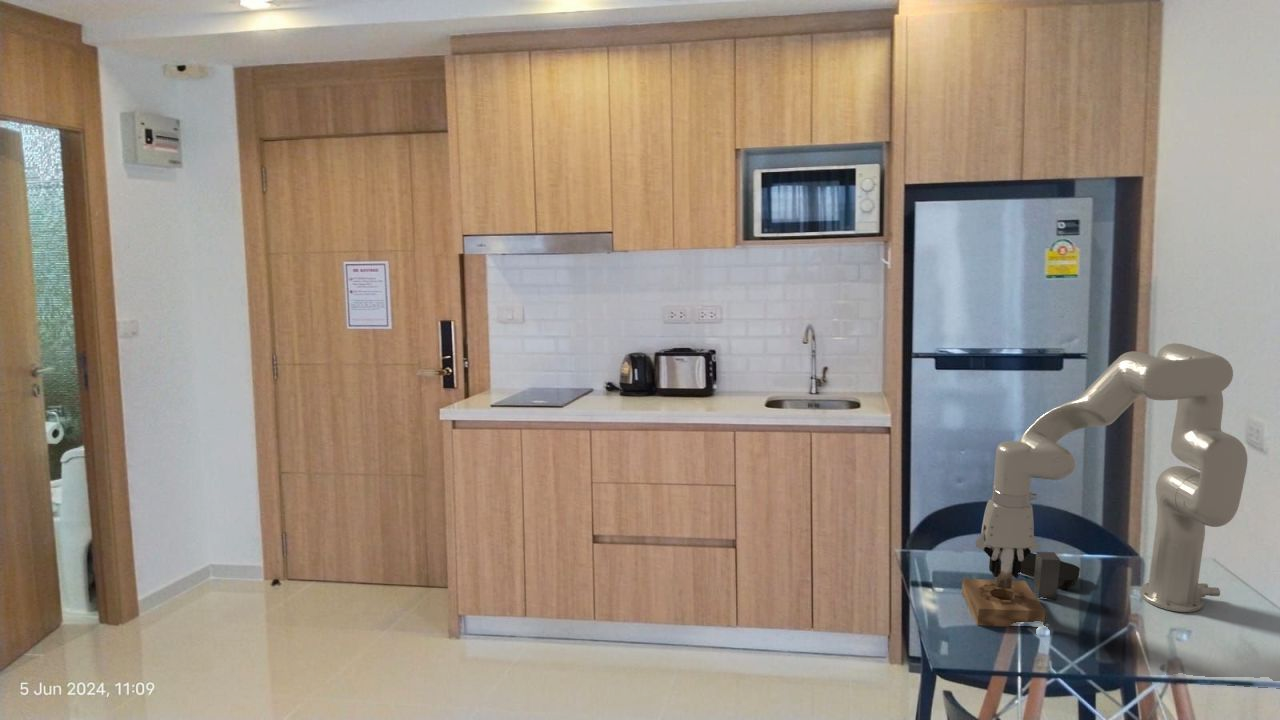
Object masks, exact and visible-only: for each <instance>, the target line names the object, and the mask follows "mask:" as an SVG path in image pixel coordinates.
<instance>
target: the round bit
mask: <svg viewBox="0 0 1280 720" xmlns="http://www.w3.org/2000/svg"><path fill="white" fill-rule="evenodd" d="M1014 559H1015V548H1000V549H999V553H998V560H999V572H998V577H994V580H995V586H997V587H999V588H1002V589H1010V588H1012V581H1013V580H1014V579H1013V578H1014V576H1013V570H1014Z"/></svg>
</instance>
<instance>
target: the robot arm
mask: <svg viewBox="0 0 1280 720" xmlns="http://www.w3.org/2000/svg"><path fill="white" fill-rule="evenodd" d="M1233 377H1234V369H1233V367H1232V364H1231V363H1230V362H1229V361H1228V360H1227V359H1226V358H1225V357H1223V356H1221V355H1219V354H1216V353H1212V352H1210V351H1206V350H1203V349H1200V348H1197V347H1194V346H1191V345H1187V344H1184V343H1175V342H1174V343H1169V344H1165V345H1163V346H1162V347H1161V348H1160V349H1159V350H1158V352H1157V355H1156V356H1154V355H1151V354H1147V353H1144V352H1141V351H1140V352H1139V351H1135V350H1134V351H1127V352H1124V353H1122V354H1120V356H1118V357H1117V359H1116V360H1114V361H1113V362H1112V363H1111V364H1110V365H1109V366H1107V368H1106V369H1105V370H1104V371H1103V372H1102V373H1101V374H1100V375H1099V377H1097V379H1096V380H1094V381H1093V382H1092V383H1091V384H1090V385H1089V386H1088V388H1087V389H1085V390H1084V391H1083V393H1081V394H1080V395H1079V396H1078V397H1075V398H1074V399H1073V400H1070V401H1067V402H1065V403H1063V404H1061V405H1059V406H1057V407H1054V408H1052V409H1050V410H1049V411H1047V412H1045V413H1044V414H1042V415H1041V416H1040V417H1038V418H1037V419H1036V420H1035V421H1034V422H1033V423H1032V424H1031V425H1030V426H1029V427H1028V428H1027V430H1026V431H1024V433H1023V434H1022V435H1021V436H1020V438H1019V439H1018V441H1016V440H1009V441H1008V440H1007V441H1002V442H1000V443H999V444H998V445H997V447H996V449H995V450H996V452H995V461H994V462H995V464H994V475H993V476H994V477H993V485H992V487H993V489H992V499H988V501H987V503H986V506H985V510H984V513H983V514H984V515H983V520H982V525H981V531H980V532H981V533H980V535H979V536H978V538H977V539H976V540H975V541H974V546H975V547H976V548H978V549H979V550H981V551H983V552H984V553H985V554H986V555H987V556H988V557H989V562H988V563H989V565H988V568H989V569H988V570H989V572H990V573H991V574H992V575H993V577H994V578H995V577H998V572H999V560H998V553H999V549H1000V548H1015V559H1014V570H1013V578H1016V579H1018V578H1019V575H1018V573H1020V570H1021V561H1023V560H1024V558H1025V557H1026V556H1027V555H1028V554H1030V552H1031V553H1033V552H1034V551H1037V550H1039V549H1040V545H1039V544H1038V542H1037V539H1035V536H1034V535H1035V534H1034V532H1035V531H1034V530H1035V527H1034V523H1035V522H1034V512H1033V511H1034V510H1033V505H1032V503H1031V501H1033V500H1037V498H1038V497H1037V493H1035V492H1031V488H1032V487H1031V486H1032V479H1033V478H1034V479H1043V480H1050V481H1051V480H1052V481H1053V480H1054V481H1057V480H1063V479H1066V478H1067V477H1068V476H1070V475H1071V474H1072V473H1073V472H1074V470H1075V467H1076V462H1075V458H1074V456H1073V454H1072V453H1071V452H1070V451H1069V450H1068V449H1067V448H1066V447H1064V446H1062V445H1060V444H1059V443H1058V442H1059V441H1060V440H1061V439H1062V438H1063V437H1065V436H1067V435H1069V434H1070V433H1072V432H1074V431H1077V430H1082V429H1086V428H1088V429H1089V428H1099V427H1105V426H1106V427H1107V426H1110V425H1112V424H1113V423H1114V422H1115V421H1116V420H1118V418H1119V417H1120V416H1121V415H1122V414H1123V413H1124V412H1125V411H1126V410H1127V409H1128V408H1129V407H1130V406H1131V405H1132V404H1133V403H1134V402H1136V400H1137V399H1138V398H1139V397H1141V396H1143V397H1145V398H1148V399H1150V400H1153V401H1176V400H1177V404H1176V413H1175V418H1174V419H1175V420H1174V423H1173V424H1174V425H1173V428H1172V429H1173V430H1172V431H1173V432H1172V437H1171V443H1170V450H1171V453H1172V454H1173V456H1174V457H1175V458H1176V459H1178V460H1179V461H1181V462H1182V463H1184V464H1186V465H1188V466H1190V467H1188V466H1182V465H1177V466H1176V465H1175V466H1170V467H1168V468H1166V469H1164V470H1163V471H1162V472H1161V473H1160V474H1159V476H1158V478H1157V481H1156V483H1155V484H1156V485H1155V497H1156V498H1155V499H1156V523H1155V524H1156V525H1155V533H1154V539H1153V540H1154V541H1153V546H1152V547H1153V548H1152V555H1151V563H1150V570H1149V571H1150V572H1149V576H1148V577H1149V579H1148V583H1143V584H1142V585H1141V587H1140V589H1139V595H1140V597H1142V599H1143V600H1145V601H1146V602H1147V603H1150V604H1151V605H1153V606H1155V607H1158V608H1161V609H1162V610H1163V609H1164V610H1165V611H1166V610H1168V611H1173V612H1177V613H1178V612H1179V613H1193V612H1198V611H1200V610H1201V609H1202V608H1203V607H1204V603H1205V602H1204V599H1203V598H1205V597H1206V596H1210V597H1219V596H1221V591H1220V590H1221V589H1220V588H1219V587H1216V586H1215V587H1209V584H1208V583H1207V582H1206V583H1203V582H1202V583H1199V578H1200V571H1201V564H1202V557H1203V551H1204V542H1205V537H1206V526H1208V527H1212V528H1218V527H1223V526H1225V525H1228V524H1229V523H1230V522H1231V521H1232V520H1233V519H1234V517H1235V515H1236V514H1237V512H1238V509H1239V506H1240V503H1241V498H1242V495H1243V494H1242V492H1243V490H1244V484H1245V478H1246V473H1247V470H1248V469H1247V468H1248V461H1249V460H1248V454H1247V453H1248V452H1247V450H1246V448H1245V445H1244V444H1243V442H1241V440H1240V439H1238V438H1237V437H1235V436H1234V435H1232V434H1229V433H1227V432H1224V431H1223V430H1222V417H1223V412H1224V411H1223V410H1224V396H1223V392H1224V390H1226V389H1227V388H1228V387H1229V386H1230V385H1231V383H1232V381H1233ZM1191 467H1192V468H1191ZM1193 468H1194V469H1193ZM1195 469H1196V470H1195ZM1197 470H1198V471H1197Z"/></svg>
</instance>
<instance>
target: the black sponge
mask: <svg viewBox="0 0 1280 720" xmlns="http://www.w3.org/2000/svg"><path fill="white" fill-rule="evenodd" d="M1035 562H1036V553H1033V552H1030V554H1028V555H1027V556H1026V557H1025V558H1024V560H1023V561H1021V570H1020V572H1021V573H1022V574H1025V575H1028V576H1031V577H1032V578H1034V572H1035ZM1080 570H1081V569H1080V567H1079V566H1078V565H1076V564H1073V563H1069V562H1066V561H1063V560H1060V569H1059V579H1058V588H1057V589H1059V590H1060V589H1061V590H1068V589H1069V588H1070V587H1072V585H1073V584H1074V583H1075V581H1077V580H1078V579H1079V576H1080Z"/></svg>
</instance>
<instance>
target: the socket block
mask: <svg viewBox="0 0 1280 720" xmlns="http://www.w3.org/2000/svg"><path fill="white" fill-rule="evenodd" d="M962 595H963V596H962ZM961 596H962V598H963V597H964V598H965V600H966V602H967V604H968V606H969V608H968V610H969V609H970V610H969V611H970V613H971V616H972V617H973V620H974V621H975V623H976V625H977V626H987V627H1009V626H1010V625H1011V624H1013V623H1016V622H1034V621H1041V622H1044V623H1045V620H1046V610H1045V608H1044V607H1043V605H1042V604H1041V602H1040V601H1039V599H1038V598H1037V596H1036V595H1035V594H1034V592H1033V589H1031V587H1030V586H1029V585H1028V583H1027V582H1026V580H1015V579H1013V581H1012V588H1010V589H1002V588H999V587H997V586H995V579H982V578H981V579H979V578H977V579H974V578H963V579H962V585H961ZM964 598H963V599H964ZM965 600H964V601H965ZM966 602H965V603H966ZM967 604H966V605H967ZM968 606H967V607H968Z"/></svg>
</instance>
